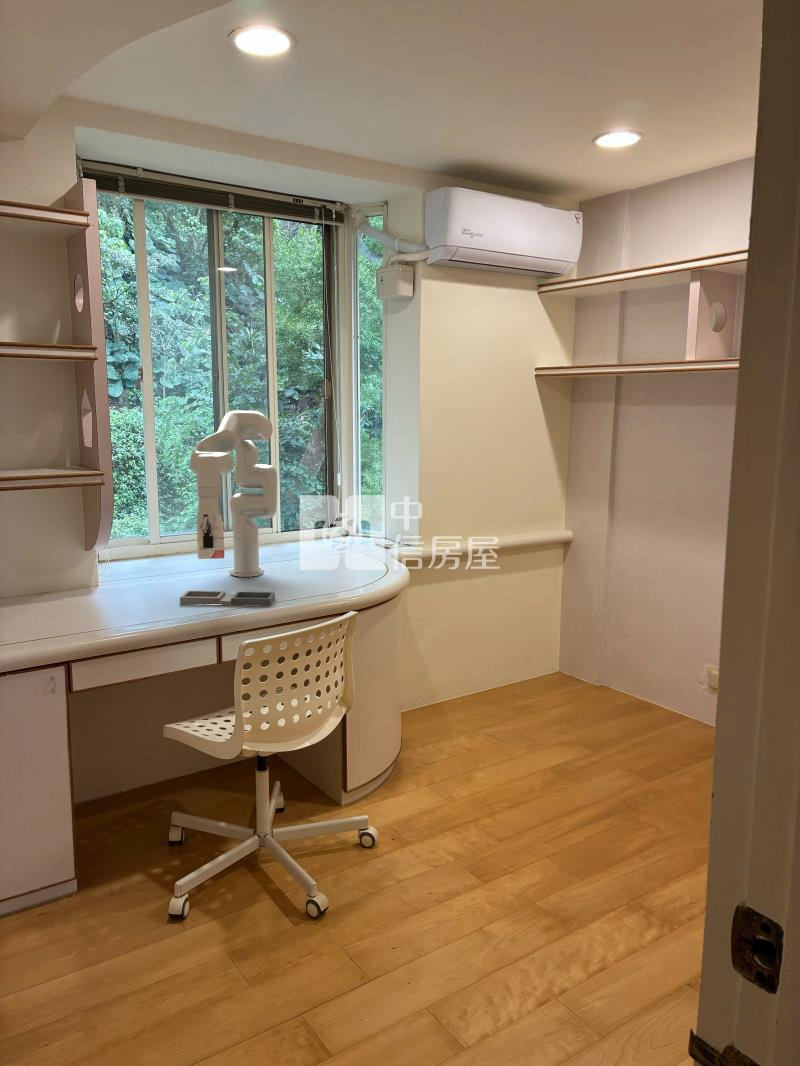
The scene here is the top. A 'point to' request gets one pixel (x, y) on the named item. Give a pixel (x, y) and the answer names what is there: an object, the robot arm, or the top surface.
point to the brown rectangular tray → (201, 597)
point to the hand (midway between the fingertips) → (210, 545)
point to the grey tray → (248, 598)
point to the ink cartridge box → (217, 541)
